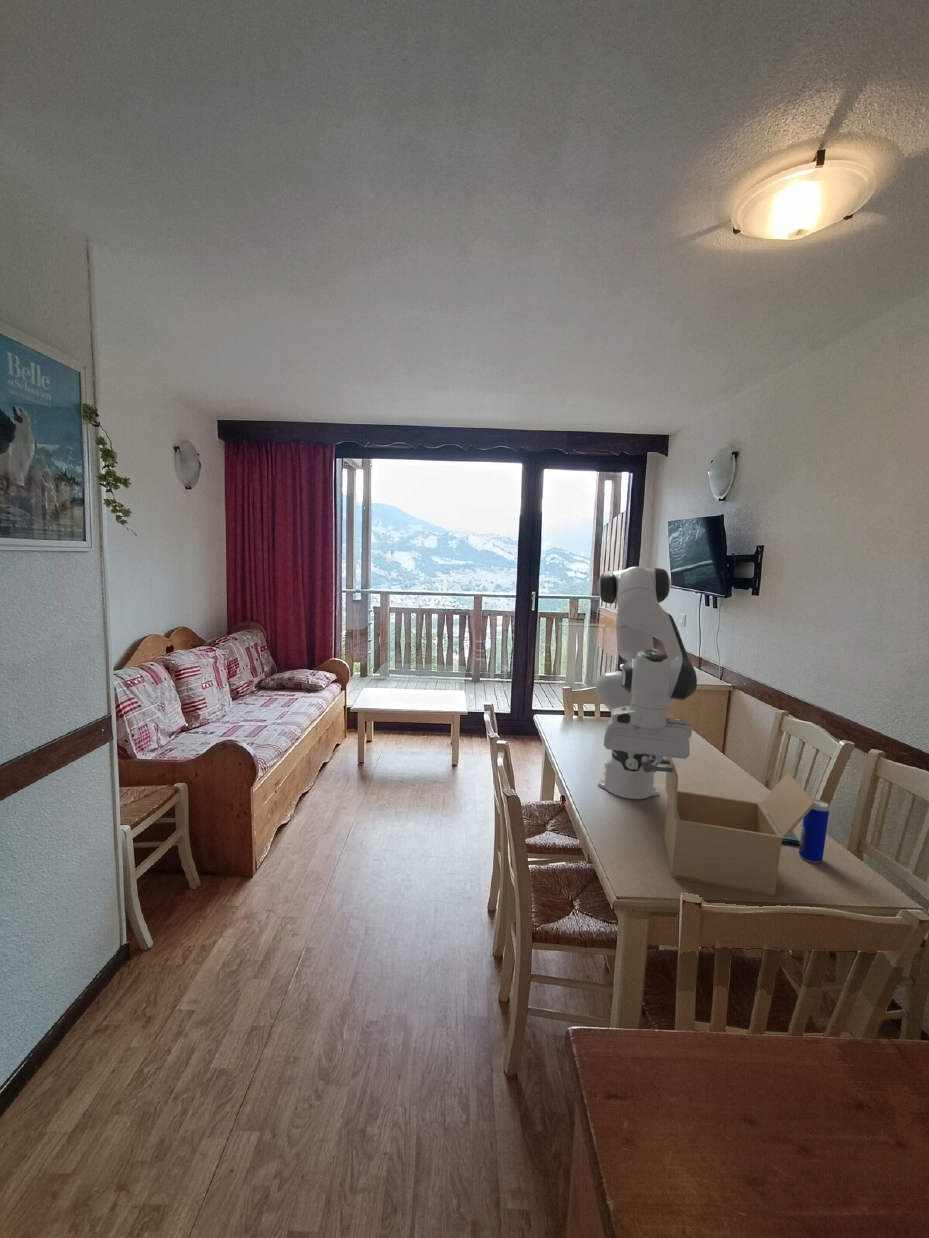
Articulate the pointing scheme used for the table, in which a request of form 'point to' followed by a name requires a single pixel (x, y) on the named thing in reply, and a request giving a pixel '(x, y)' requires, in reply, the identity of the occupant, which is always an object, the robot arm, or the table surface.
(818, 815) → the beverage can
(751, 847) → the carton
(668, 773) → the flap
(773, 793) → the flap
